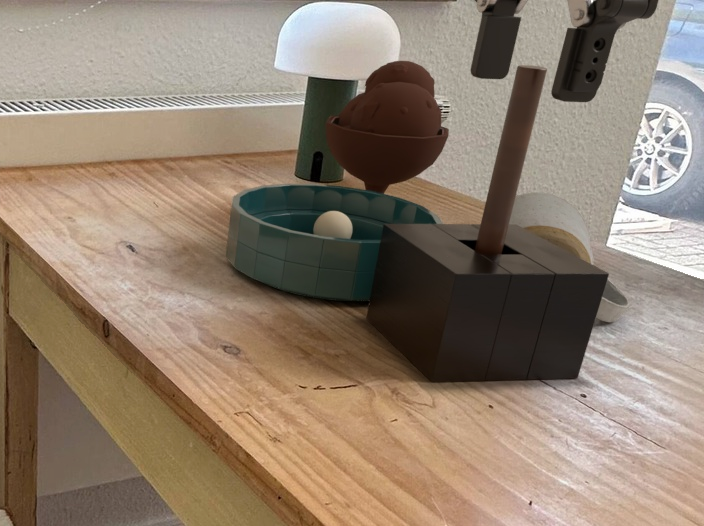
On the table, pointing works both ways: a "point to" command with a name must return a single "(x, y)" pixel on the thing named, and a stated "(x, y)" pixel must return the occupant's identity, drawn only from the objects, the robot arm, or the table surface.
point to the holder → (483, 303)
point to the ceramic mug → (565, 239)
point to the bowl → (314, 237)
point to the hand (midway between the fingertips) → (526, 88)
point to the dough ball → (333, 225)
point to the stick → (510, 158)
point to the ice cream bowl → (389, 127)
